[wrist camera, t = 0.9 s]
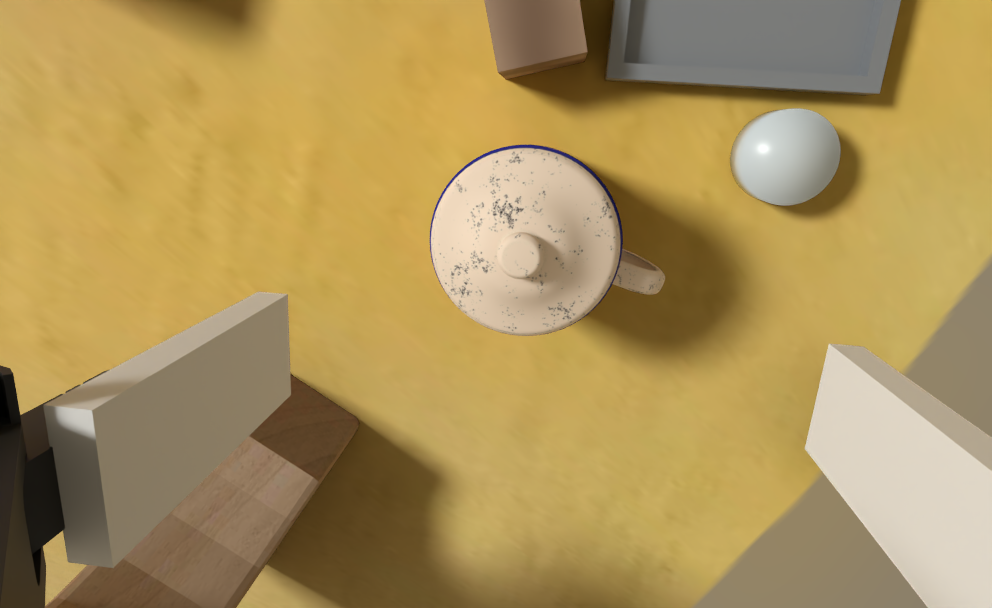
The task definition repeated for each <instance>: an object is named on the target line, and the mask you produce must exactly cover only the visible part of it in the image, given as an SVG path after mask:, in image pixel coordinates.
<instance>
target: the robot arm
mask: <svg viewBox="0 0 992 608" xmlns="http://www.w3.org/2000/svg"><path fill="white" fill-rule="evenodd" d="M290 395H291V381H290V351H289V321H288V294H278V293H267V292H257V293H255V294H253V295H251V296H249V297H247V298H245V299H244V300H242V301H240V302H238V303H236V304H234V305H232V306H230V307H228V308H226V309H225V310H223V311H221V312H219V313H217V314H215V315H213V316H211V317H209V318H207V319H206V320H204V321H202V322H200V323H198V324H196V325H194V326H192V327H190V328H189V329H187V330H185V331H183V332H181V333H179V334H177V335H175V336H173V337H171V338H170V339H168V340H166V341H164V342H162V343H160V344H158V345H156V346H154V347H152V348H151V349H149V350H147V351H145V352H143V353H141V354H139V355H137V356H135V357H133V358H132V359H130V360H128V361H126V362H124V363H122V364H120V365H118V366H116V367H114V368H113V369H111V370H108V371H104V372H102V373H101V374H99V375H97V376H95V377H93V378H91V379H89V380H87V381H85V382H83V384H82V385H78V386H76V387H74V388H72V389H70V390H68V391H66V393H65V394H60V395H59V396H57V397H55V398H53V399H51V400H49V401H47V402H45V403H43V404H41V405H39V406H38V407H36V408H34V409H32V410H30V411H28V412H26V413H24V414H22V415H20V411H19V405H18V400H17V394H16V388H15V382H14V376H13V373H12V371H11V369H10V368H7V367H3V366H0V608H45V584H46V563H45V557H44V552H43V546H44V545H45V544H46V543H47V542H49V541H50V540H51V539H52V538H54V537H55V536H56V535H57V534H59V533H60V532H61V531H62V530H63V533H64V540H65V546H66V552H67V558H68V562H70V563H78V564H86V565H93V566H101V567H108V568H114V567H115V566H116V565H117V564H118V563H119V562H120V561H121V560H122V559H123V558H124V557H125V556H126V555H127V554H128V553H129V552H130V551H131V550H132V549H133V548H134V547H135V546H136V545H137V544H138V543H139V542H141V541H142V540H143V539H144V538H145V537H146V536H147V535H148V534H149V533H150V532H151V531H152V530H153V529H154V528H155V527H156V526H157V525H158V524H159V523H160V522H161V521H162V520H163V519H164V518H165V517H166V516H167V515H168V514H169V513H170V512H171V511H172V510H173V509H174V508H175V507H176V506H177V505H179V504H180V503H181V502H182V501H183V500H184V499H185V498H186V497H187V496H188V495H189V494H190V493H191V492H192V491H193V490H194V489H195V488H196V487H197V486H198V485H199V484H200V483H201V482H202V481H203V480H204V479H205V478H206V477H207V476H208V475H209V474H210V473H211V472H212V471H213V470H214V469H215V468H216V467H218V466H219V465H220V464H221V463H222V462H223V461H224V460H225V459H226V458H227V457H228V456H229V455H230V454H231V453H232V452H233V451H234V450H235V449H236V448H237V447H238V446H239V445H240V444H241V443H242V442H243V441H244V440H245V439H246V438H247V437H248V436H249V435H250V434H251V433H252V432H253V431H254V430H255V429H257V428H258V427H259V426H260V425H261V424H262V423H263V422H264V421H265V420H266V419H267V418H268V417H269V416H270V415H271V414H272V413H273V412H274V411H275V410H276V409H277V408H278V407H279V406H280V405H281V404H282V403H283V402H284V401H285V400H286V399H287V398H288V397H289V396H290ZM805 450H806V451H807V452H808V453H809V455H810V456H811V457H812V459H813V460H814V461H815V462H816V464H817V465H818V466H819V468H820V469H821V470H822V472H823V473H824V474H825V475H826V477H827V478H828V479H829V481H830V482H831V483H832V484H833V486H834V487H835V488H836V490H837V491H838V492H839V493H840V495H841V496H842V497H843V498H844V500H845V501H846V502H847V504H848V505H849V506H850V507H851V509H852V510H853V512H854V513H855V514H856V515H857V517H858V518H859V519H860V521H861V522H862V523H863V524H864V526H865V527H866V528H867V530H868V531H869V532H870V534H871V535H872V536H873V537H874V538H875V540H876V541H877V543H878V544H879V545H880V546H881V548H882V549H883V550H884V551H885V553H886V554H887V555H888V557H889V558H890V559H891V561H892V562H893V563H894V565H895V566H896V567H897V568H898V569H899V571H900V572H901V573H902V575H903V576H904V577H905V579H906V580H907V581H908V583H909V584H910V585H911V586H912V588H913V589H914V590H915V591H916V593H917V594H918V596H919V597H920V598H921V599H922V601H923V602H924V603H925V604H926V606H927V607H928V608H992V437H990V436H989V435H987V434H986V433H984V432H983V431H982V430H980V429H979V428H977V427H976V426H975V425H973V424H972V423H970V422H969V421H968V420H966V419H965V418H963V417H962V416H961V415H959V414H958V413H956V412H955V411H953V410H952V409H951V408H949V407H948V406H946V405H945V404H944V403H942V402H941V401H939V400H938V399H936V398H935V397H934V396H932V395H931V394H929V393H928V392H927V391H925V390H924V389H922V388H921V387H919V386H918V385H917V384H915V383H914V382H912V381H911V380H910V379H908V378H907V377H905V376H904V375H902V374H901V373H900V372H898V371H897V370H895V369H894V368H893V367H891V366H890V365H888V364H887V363H885V362H884V361H883V360H881V359H880V358H878V357H877V356H876V355H874V354H873V353H871V352H870V351H868V350H867V349H866V348H864V347H861V346H850V345H839V344H829V346H828V350H827V355H826V359H825V363H824V368H823V372H822V376H821V381H820V385H819V389H818V394H817V398H816V402H815V407H814V411H813V415H812V420H811V424H810V428H809V433H808V437H807V441H806V446H805Z"/></svg>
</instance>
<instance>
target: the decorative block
mask: <svg viewBox="0 0 992 608" xmlns="http://www.w3.org/2000/svg"><path fill="white" fill-rule="evenodd" d="M290 381H291V395H290V396H289V397H288V398H287V399H286V400H285V401H284V402H283V403H282V404H281V405H280V406H279V407H278V408H277V409H276V410H275V411H274V412H273V413H272V414H271V415H270V416H269V417H268V418H267V419H266V420H265V421H264V422H263V423H262V424H261V425H260V426H259V427H258V428H257V429H255V430H254V431H253V432H252V433H251V434H250V435H249V436H248V437H247V438H246V439H245V440H244V441H243V442H242V443H241V444H240V445H239V446H238V447H237V448H236V449H235V450H234V451H233V452H232V453H231V454H230V455H229V456H228V457H227V458H226V459H225V460H224V461H223V462H222V463H221V464H220V465H219V466H218V467H216V468H215V469H214V470H213V471H212V472H211V473H210V474H209V475H208V476H207V477H206V478H205V479H204V480H203V481H202V482H201V483H200V484H199V485H198V486H197V487H196V488H195V489H194V490H193V491H192V492H191V493H190V494H189V495H188V496H187V497H186V498H185V499H184V500H183V501H182V502H181V503H180V504H179V505H177V506H176V507H175V508H174V509H173V510H172V511H171V512H170V513H169V514H168V515H167V516H166V517H165V518H164V519H163V520H162V521H161V522H160V523H159V524H158V525H157V526H156V527H155V528H154V529H153V530H152V531H151V532H150V533H149V534H148V535H147V536H146V537H145V538H144V539H143V540H142V541H141V542H139V543H138V544H137V545H136V546H135V547H134V548H133V549H132V550H131V551H130V552H129V553H128V554H127V555H126V556H125V557H124V558H123V559H122V560H121V561H120V562H119V563H118V564H117V565H116V566H115V567H114V568H108V567H101V566H93V565H87V566H86V567H85V568H84V569H83V570H82V571H81V572H80V573H79V574H78V575H77V576H76V577H75V578H74V579H73V580H72V581H71V582H70V583H69V584H68V585H67V586H66V587H65V588H64V589H63V590H62V591H61V592H60V593H59V594H58V595H57V596H56V597H55V598H54V599H53V600H52V601H51V602H49V603H48V604H47V605H46V606H45V608H236V607H237V606H238V604H239V603H240V601H241V600H242V598H243V597H244V596H245V594H246V593H247V591H248V590H249V588H250V587H251V585H252V584H253V582H254V581H255V579H256V578H257V577H258V575H259V574H260V572H261V571H262V569H263V568H264V566H265V565H266V563H267V562H268V560H269V559H270V558H271V556H272V555H273V553H274V552H275V550H276V549H277V547H278V546H279V544H280V543H281V541H282V540H283V538H284V537H285V536H286V534H287V533H288V531H289V530H290V528H291V527H292V525H293V524H294V522H295V521H296V519H297V518H298V516H299V515H300V514H301V512H302V511H303V509H304V508H305V506H306V505H307V503H308V502H309V500H310V499H311V497H312V496H313V494H314V493H315V491H316V490H317V489H318V487H319V486H320V484H321V483H322V481H323V480H324V478H325V477H326V475H327V474H328V472H329V471H330V469H331V468H332V467H333V465H334V464H335V462H336V461H337V459H338V458H339V456H340V455H341V453H342V452H343V450H344V449H345V447H346V446H347V445H348V443H349V442H350V440H351V439H352V437H353V436H354V434H355V433H356V431H357V429H358V425H359V422H358V420H357V418H356V417H355V416H353V415H352V414H350V413H349V412H347V411H346V410H344V409H343V408H341V407H340V406H338V405H336V404H335V403H333V402H332V401H330V400H329V399H327V398H326V397H324V396H323V395H321V394H320V393H318V392H317V391H315V390H314V389H312V388H310V387H309V386H307V385H306V384H304V383H303V382H301V381H300V380H298V379H297V378H295V377H294V376H292V375H291V374H290Z"/></svg>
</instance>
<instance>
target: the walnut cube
mask: <svg viewBox="0 0 992 608" xmlns="http://www.w3.org/2000/svg"><path fill="white" fill-rule="evenodd" d="M485 6H486V11H487V16H488V22H489V27H490V32H491V38H492V43H493V48H494V53H495V59H496V64H497V69H498V73H499V74H501V75H502V76H503V77H504V78H505V79H510V78H514V77H519V76H523V75H528V74H532V73H537V72H541V71H545V70H550V69H554V68H559V67H563V66H568V65H572V64H577V63H581V62H584V61H585V58H586V55H587V45H586V39H585V32H584V25H583V19H582V12H581V6H580V0H485Z"/></svg>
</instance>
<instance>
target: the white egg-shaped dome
mask: <svg viewBox="0 0 992 608" xmlns="http://www.w3.org/2000/svg"><path fill="white" fill-rule="evenodd" d="M840 153H841V148H840V141H839V138H838V135H837V133H836V130H835V129H834V127H833V126H832V124H831V123H830V122H829V121H828V120H827V119H826V118H824V117H823V116H821V115H820V114H818V113H816V112H814V111H810V110H807V109H785V110H775V111H770V112H767V113H764V114H762V115H759V116H758V117H756V118H754V119H753V120H751V121H750V122H749V123H748V124H747V125H746V126H745V127H744V128H743V129H742V130H741V131H740V133H739V134H738V136H737V137H736V139H735V141H734V144H733V146H732V150H731V156H730V166H731V171H732V175H733V177H734V179H735V181H736V183H737V184H738V186H739V187H740V188H741V189H742V190H743V191H744V192H745V193H747V194H748V195H750V196H752V197H754V198H756V199H759V200H762V201H765V202H768V203H771V204H775V205H786V206H788V205H795V204H799V203H802V202H805V201H807V200H809V199H811V198H813V197H815V196H816V195H818V194H819V193H820V192H821V191H822V190H823V189H824V188H825V187H826V186H827V185H828V184H829V183H830V181H831V180H832V178H833V177H834V175H835V173H836V171H837V168H838V165H839V161H840Z"/></svg>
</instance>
